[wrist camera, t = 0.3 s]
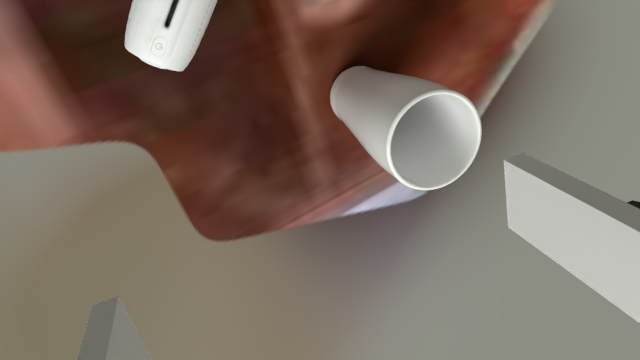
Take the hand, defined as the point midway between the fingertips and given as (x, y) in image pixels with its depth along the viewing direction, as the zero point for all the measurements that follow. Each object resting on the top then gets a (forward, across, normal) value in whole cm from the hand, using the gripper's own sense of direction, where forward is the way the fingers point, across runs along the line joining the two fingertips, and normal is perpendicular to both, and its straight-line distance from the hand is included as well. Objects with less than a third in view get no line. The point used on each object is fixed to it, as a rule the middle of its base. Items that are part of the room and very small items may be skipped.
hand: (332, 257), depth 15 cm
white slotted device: (+28, -2, +9) cm, 29 cm away
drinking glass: (+28, +10, -3) cm, 30 cm away
